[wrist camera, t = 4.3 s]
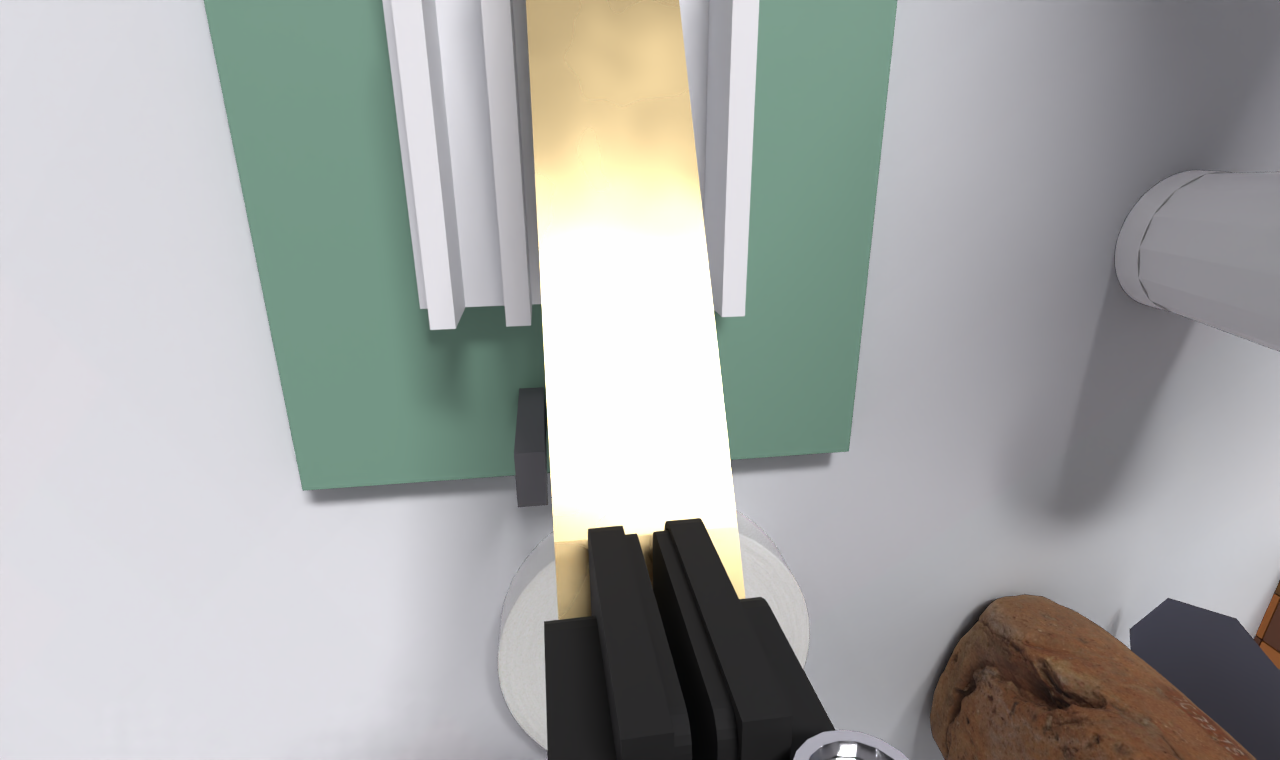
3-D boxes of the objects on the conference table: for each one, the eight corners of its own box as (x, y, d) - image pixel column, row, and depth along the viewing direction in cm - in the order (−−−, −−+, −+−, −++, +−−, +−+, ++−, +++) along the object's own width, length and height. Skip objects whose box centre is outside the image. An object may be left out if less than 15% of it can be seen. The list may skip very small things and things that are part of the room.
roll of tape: (492, 736, 36) (488, 783, 34) (510, 482, 31) (508, 514, 29) (764, 730, 39) (780, 774, 36) (820, 497, 34) (844, 527, 31)
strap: (509, -338, 17) (501, -451, 15) (626, -328, 17) (635, -437, 15) (558, 610, 12) (558, 625, 10) (723, 594, 12) (752, 605, 10)
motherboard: (151, -369, 20) (-69, -654, 13) (909, -307, 23) (1077, -509, 16) (313, 473, 29) (241, 581, 22) (835, 438, 32) (919, 522, 25)
